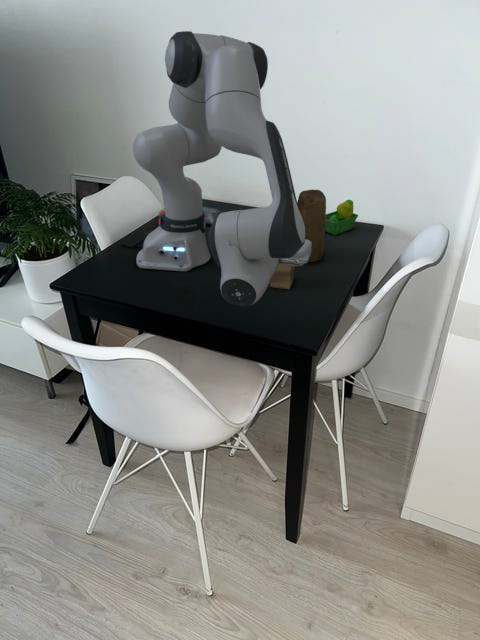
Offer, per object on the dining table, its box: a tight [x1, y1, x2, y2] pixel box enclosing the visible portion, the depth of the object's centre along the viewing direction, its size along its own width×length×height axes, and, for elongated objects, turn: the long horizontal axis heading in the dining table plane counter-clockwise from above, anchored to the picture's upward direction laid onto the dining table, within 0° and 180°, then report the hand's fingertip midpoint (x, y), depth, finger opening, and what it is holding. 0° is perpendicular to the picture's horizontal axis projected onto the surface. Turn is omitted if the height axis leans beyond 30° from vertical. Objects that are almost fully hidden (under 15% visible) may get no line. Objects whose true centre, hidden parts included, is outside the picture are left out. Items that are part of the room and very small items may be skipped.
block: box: [297, 189, 327, 263], centre depth 150 cm, size 11×8×20 cm
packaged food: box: [203, 206, 224, 225], centre depth 179 cm, size 9×12×5 cm
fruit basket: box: [325, 199, 359, 236], centre depth 169 cm, size 11×9×11 cm
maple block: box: [269, 264, 295, 290], centre depth 138 cm, size 6×6×11 cm
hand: (273, 234), depth 121 cm, fingers open, 8 cm apart
